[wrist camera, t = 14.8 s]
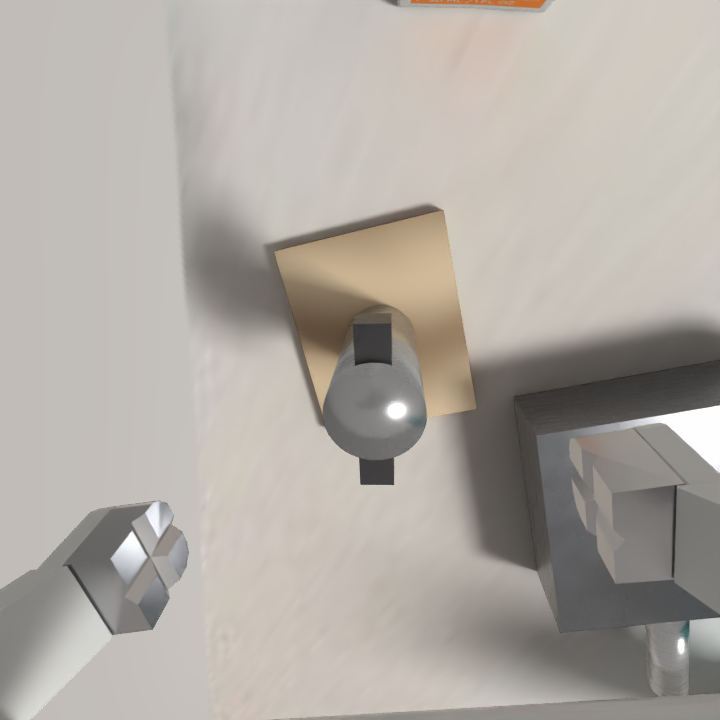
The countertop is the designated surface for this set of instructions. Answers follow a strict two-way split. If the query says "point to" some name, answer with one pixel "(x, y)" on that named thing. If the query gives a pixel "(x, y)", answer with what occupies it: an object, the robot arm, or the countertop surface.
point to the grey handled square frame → (579, 547)
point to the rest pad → (383, 301)
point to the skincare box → (482, 4)
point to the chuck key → (377, 393)
